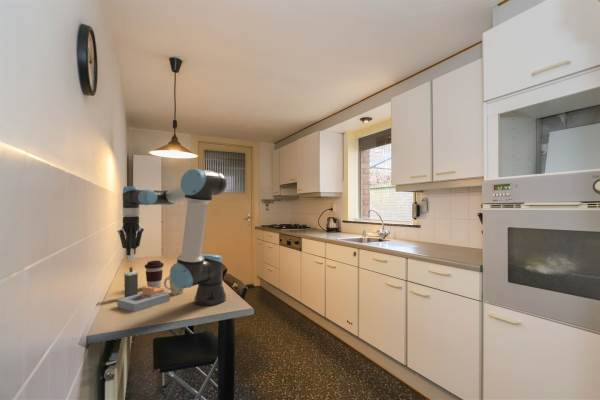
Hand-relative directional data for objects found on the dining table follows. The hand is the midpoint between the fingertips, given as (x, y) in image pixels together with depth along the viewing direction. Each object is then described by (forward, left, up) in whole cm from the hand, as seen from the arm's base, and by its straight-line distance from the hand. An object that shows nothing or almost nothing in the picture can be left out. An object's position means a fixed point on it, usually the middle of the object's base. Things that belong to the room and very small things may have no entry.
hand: (130, 261), depth 161 cm
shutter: (-16, -2, -15) cm, 22 cm away
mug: (-13, -16, -19) cm, 28 cm away
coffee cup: (+7, -18, -19) cm, 27 cm away
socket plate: (-16, +3, -19) cm, 25 cm away
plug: (0, 0, -19) cm, 19 cm away
